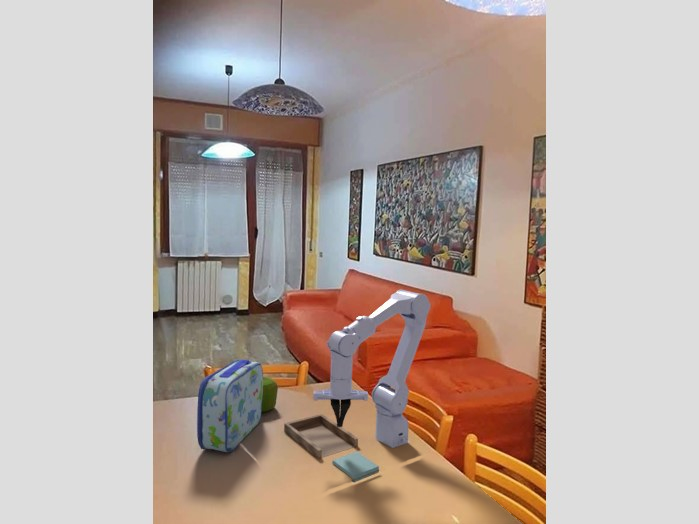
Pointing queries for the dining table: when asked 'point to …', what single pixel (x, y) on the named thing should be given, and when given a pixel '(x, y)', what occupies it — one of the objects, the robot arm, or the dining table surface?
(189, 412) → the dining table surface
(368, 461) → the teal square tile
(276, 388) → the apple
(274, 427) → the dining table surface
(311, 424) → the box
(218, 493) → the dining table surface
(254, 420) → the lunch box
